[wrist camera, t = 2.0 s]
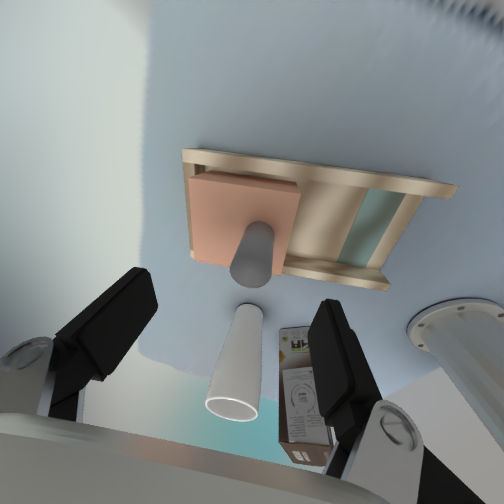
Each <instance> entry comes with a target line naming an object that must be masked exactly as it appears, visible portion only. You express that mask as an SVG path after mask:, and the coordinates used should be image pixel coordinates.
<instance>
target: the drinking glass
mask: <svg viewBox="0 0 504 504" xmlns="http://www.w3.org/2000/svg"><path fill="white" fill-rule="evenodd" d="M262 322H263V313H262V311H261V310H260V309H259V308H258V307H257V306H255V305H252V304H243V305H240V306H239V307H238V308H237V309H236V311H235V315H234V318H233V321H232V324H231V326H230V329H229V332H228V334H227V337H226V339H225V342H224V345H223V347H222V350H221V352H220V355H219V358H218V360H217V363H216V366H215V369H214V372H213V375H212V378H211V382H210V385H209V389H208V393H207V397H206V401H205V405H206V407H207V409H208V410H209V411H210V412H212V413H213V414H215V415H217V416H220V417H222V418H225V419H229V420H234V421H251V420H253V419H255V418H256V417H257V416H258V410H259V403H260V394H261V381H262Z"/></svg>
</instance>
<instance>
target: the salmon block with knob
mask: <svg viewBox="0 0 504 504" xmlns="http://www.w3.org/2000/svg"><path fill="white" fill-rule="evenodd" d="M188 182H189V195H190V209H191V223H192V236H193V250H194V261H199V262H204V263H210V264H216V265H221V266H227V267H230V273H231V276H232V278H233V279H234V280H235V281H236V282H237V283H238V284H240V285H242V286H244V287H248V288H258V287H261V286H263V285H265V284H266V283H268V281H269V280H270V278H271V275H272V274H273V275H278V276H281V272H282V268H283V264H284V260H285V256H286V252H287V248H288V244H289V240H290V236H291V232H292V228H293V224H294V220H295V216H296V212H297V208H298V204H299V200H300V196H301V193H300V191H299V188H298V186H297V184H296V182H292V181H285V180H278V179H271V178H264V177H257V176H250V175H243V174H236V173H229V172H221V171H214V170H209V171H206V172H204V173H201V174H198V175H195V176H192V177H189V178H188Z"/></svg>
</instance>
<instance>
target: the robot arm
mask: <svg viewBox="0 0 504 504" xmlns="http://www.w3.org/2000/svg"><path fill="white" fill-rule="evenodd" d="M157 309H158V303H157V299H156V295H155V291H154V287H153V283H152V279H151V275H150V273H149V272H148V271H147V269H145V268H139V267H133V268H132V269H130V270H129V271H128V272H127V273H126V274H125V275H124V276H122V277H121V278H120V279H119V280H118V281H116V282H115V283H114V284H113V285H112V286H111V287H110V288H108V289H107V290H106V291H105V292H104V293H103V294H101V295H100V296H99V297H98V298H97V299H96V300H94V301H93V302H92V303H91V304H90V305H89V306H87V307H86V308H85V309H84V310H83V311H82V312H81V313H79V314H78V315H77V316H76V317H75V318H74V319H72V320H71V321H70V322H69V323H68V324H67V325H66V326H64V327H63V328H62V329H61V330H60V331H59V332H58V333H56V334H55V335H56V337H55V338H54V339H53V340H52V339H51V338H49V337H37V338H32V339H30V340H27V341H25V342H22V343H20V344H19V345H17V346H15V347H13V348H12V349H11V350H9V351H8V352H6V353H5V354H4V355H3V356H2V357H1V358H0V504H485V503H484V502H483V501H482V500H481V499H480V498H479V497H478V496H477V495H476V494H475V493H474V492H473V491H472V490H470V489H469V488H468V487H467V486H466V485H465V484H464V483H463V482H462V481H461V480H460V479H459V478H458V477H457V476H456V475H455V474H454V473H453V472H451V470H449V469H448V468H447V467H446V466H445V465H444V464H443V463H442V462H441V461H440V460H439V459H438V458H437V457H436V456H435V455H433V453H432V452H430V451H429V450H428V449H427V448H426V447H425V446H424V445H423V440H422V437H421V434H420V432H419V430H418V428H417V426H416V424H415V423H414V422H413V420H412V419H411V418H410V416H409V415H408V414H407V413H406V412H405V411H403V409H402V408H400V407H398V406H397V405H396V404H394V403H392V402H390V401H387V400H383V399H382V396H381V394H380V391H379V389H378V387H377V384H376V382H375V379H374V377H373V375H372V372H371V370H370V367H369V365H368V362H367V360H366V358H365V355H364V353H363V350H362V348H361V346H360V343H359V341H358V338H357V336H356V334H355V332H354V331H353V330H352V329H350V326H349V324H348V321H347V319H346V316H345V314H344V311H343V309H342V306H341V304H340V302H339V301H338V300H333V299H326V300H325V301H322V302H321V304H320V306H319V308H318V311H317V313H316V315H315V317H314V319H313V322H312V324H311V326H310V328H309V330H308V334H307V338H308V344H309V351H310V357H311V363H312V370H313V376H314V382H315V389H316V395H317V401H318V408H319V413H320V415H321V417H324V422H325V425H326V426H331V427H334V431H335V435H336V440H337V441H336V443H335V446H334V448H333V450H332V452H331V454H330V457H329V459H328V461H327V463H326V466H325V468H324V470H323V473H322V474H319V473H315V472H311V471H307V470H302V469H298V468H294V467H290V466H286V465H280V464H276V463H272V462H267V461H262V460H258V459H253V458H248V457H243V456H239V455H234V454H229V453H224V452H220V451H215V450H210V449H205V448H200V447H196V446H191V445H186V444H181V443H177V442H172V441H167V440H162V439H157V438H152V437H148V436H143V435H138V434H133V433H128V432H123V431H118V430H113V429H108V428H103V427H99V426H94V425H89V424H84V423H82V422H83V410H84V397H85V387H86V385H87V383H88V382H89V381H90V380H91V379H92V380H97V381H101V382H103V381H104V379H105V378H106V377H107V375H110V374H111V373H112V372H113V371H114V370H115V369H116V367H117V366H118V364H119V363H120V362H121V360H122V359H123V357H124V356H125V355H126V353H127V352H128V350H129V349H130V347H131V346H132V345H133V343H134V342H135V341H136V339H137V338H138V336H139V335H140V334H141V332H142V331H143V329H144V328H145V327H146V325H147V324H148V322H149V321H150V320H151V318H152V317H153V315H154V314H155V313H156V311H157ZM407 335H408V337H409V339H410V341H411V342H412V343H413V345H414V346H415V347H417V348H419V349H420V350H423V351H426V352H429V353H432V354H433V356H434V357H435V358H436V360H437V361H438V362H439V364H440V365H441V367H442V368H443V369H444V371H445V372H446V373H447V375H448V376H449V378H450V379H451V380H452V382H453V383H454V384H455V386H456V387H457V388H458V390H459V391H460V393H461V394H462V395H463V397H464V398H465V399H466V401H467V402H468V404H469V405H470V406H471V408H472V409H473V410H474V412H475V413H476V414H477V416H478V417H479V419H480V420H481V421H482V423H483V424H484V426H485V427H486V428H487V430H488V431H489V432H490V434H491V435H492V436H493V438H494V439H495V441H496V442H497V443H498V445H499V446H500V448H501V449H502V450H503V452H504V309H503V308H502V307H501V306H499V305H497V304H496V303H493V302H491V301H488V300H482V299H458V300H452V301H447V302H444V303H440V304H437V305H435V306H432V307H430V308H428V309H426V310H424V311H422V312H421V313H420V314H418V315H417V316H416V317H415V318H414V319H413V320H412V321H411V322H410V324H409V325H408V329H407Z"/></svg>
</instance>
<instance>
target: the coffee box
mask: <svg viewBox="0 0 504 504" xmlns="http://www.w3.org/2000/svg"><path fill="white" fill-rule="evenodd" d="M309 328H310V327H299V328H288V329H280V334H279V443H280V445H281V446H282V447H283V449H284V450H285V452H286V453H287V454H288V456H289V457H290V459H291V460H292V462H293V463H297V464H303V465H311V466H321V467H322V466H326V463H327V461H328V459H329V457H330V454H331V452H332V450H333V448H334V445H333V439H332V434H331V428H330V426H326V425H325V422H324V417H321V415H320V413H319V408H318V401H317V395H316V389H315V382H314V376H313V370H312V363H311V357H310V351H309V344H308V338H307V334H308V330H309Z"/></svg>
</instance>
